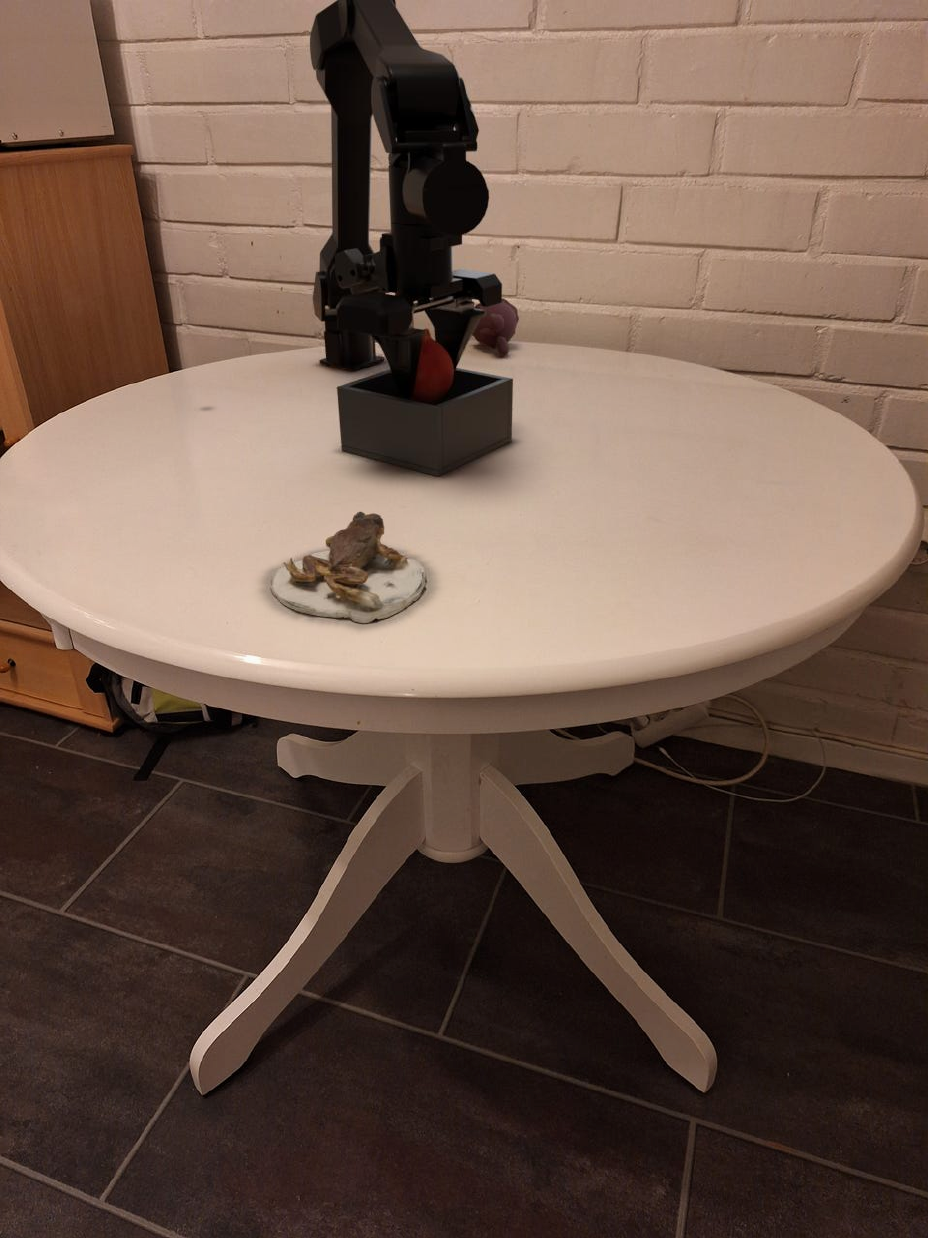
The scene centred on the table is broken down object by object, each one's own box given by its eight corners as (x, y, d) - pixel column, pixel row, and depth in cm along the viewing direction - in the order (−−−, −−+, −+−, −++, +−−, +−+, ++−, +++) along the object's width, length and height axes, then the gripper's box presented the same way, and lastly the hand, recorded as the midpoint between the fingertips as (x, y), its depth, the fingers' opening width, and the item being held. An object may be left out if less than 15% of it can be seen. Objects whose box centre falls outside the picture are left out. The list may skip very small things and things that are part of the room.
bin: (418, 419, 102) (416, 359, 98) (511, 441, 95) (513, 378, 92) (341, 450, 93) (336, 386, 90) (438, 476, 87) (436, 408, 83)
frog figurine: (311, 539, 75) (306, 495, 73) (449, 558, 71) (448, 513, 69) (239, 604, 65) (232, 556, 63) (395, 629, 62) (392, 580, 60)
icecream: (457, 290, 134) (467, 321, 122) (506, 276, 133) (521, 306, 121) (469, 335, 138) (479, 370, 126) (516, 322, 137) (531, 355, 125)
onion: (387, 413, 91) (383, 332, 87) (411, 397, 96) (409, 319, 91) (440, 420, 89) (439, 337, 85) (462, 403, 94) (462, 324, 90)
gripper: (417, 206, 94) (421, 357, 102) (285, 225, 81) (302, 397, 89) (506, 213, 88) (503, 373, 96) (380, 235, 75) (388, 419, 83)
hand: (425, 389), depth 91 cm, fingers closed on onion, 6 cm apart
